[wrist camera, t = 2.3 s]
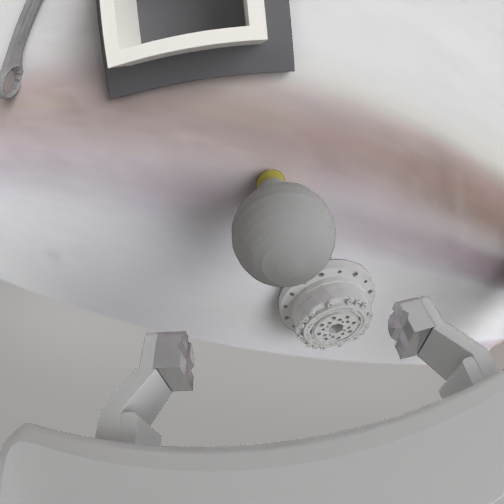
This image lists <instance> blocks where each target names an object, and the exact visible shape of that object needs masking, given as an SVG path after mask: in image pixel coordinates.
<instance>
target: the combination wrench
mask: <svg viewBox="0 0 504 504" xmlns="http://www.w3.org/2000/svg"><path fill="white" fill-rule="evenodd" d="M41 2H42V0H27V1H26V3H25V5H24V8H23V10H22V12H21V15H20V17H19V20H18V22H17V25H16V27H15V30H14V33H13V36H12V39H11V42H10V45H9V48H8V51H7V54H6V57H5V60H4V63H3V66H2V69H1V71H0V98H3V99H9V98H11V97H13V96H14V95H15V94H16V93H17V92H18V90H19V88H20V86H21V82H20V80H21V78H22V74H23V69H22V67H21V61H22V52H23V48H24V45H25V42H26V39H27V37H28V34H29V31H30V28H31V26H32V23H33V21H34V18H35V16H36V13H37V11H38V9H39V6H40V4H41ZM10 70H14V72H15V82H14V83H13V85H12V87H11V89H10V90H9V92H8V93H4V90H3V85H4V80H5V78H6V76H7V74H8V73H9V72H10Z"/></svg>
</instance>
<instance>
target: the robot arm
mask: <svg viewBox="0 0 504 504" xmlns="http://www.w3.org/2000/svg"><path fill="white" fill-rule="evenodd" d="M393 311H394V312H393V313H392V314H391V315H390V317H389V320H388V330H389V333H390V336H391V338H393V339H394V340H395V341H396V345H395V347H396V349H397V352H398V354H399V356H400V359H402V358H406V357H410V356H414V355H417V356H419V357H420V358H421V359H422V360H423V361H424V362H425V363H427V364H428V365H429V366H430V367H431V368H432V369H433V370H435V371H436V372H437V373H438V374H439V375H440V376H441V377H442V378H444V379H445V380H446V382H445V383H444V384H443V385H442V386H441V388H440V390H439V393H440V395H441V398H442V399H441V400H438V401H436V402H433V403H431V404H428V405H426V406H423V407H421V408H418V409H415V410H412V411H409V412H406V413H404V414H400V415H397V416H394V417H391V418H388V419H384V420H381V421H378V422H374V423H371V424H367V425H363V426H360V427H355V428H351V429H347V430H343V431H339V432H334V433H329V434H324V435H319V436H314V437H308V438H301V439H296V440H288V441H281V442H272V443H263V444H253V445H239V446H216V447H180V446H179V447H178V446H161V435H160V434H159V433H158V432H156V431H155V430H154V429H153V428H152V427H151V424H152V423H153V421H154V420H155V418H156V417H157V415H158V414H159V412H160V411H161V409H162V407H163V406H164V405H165V403H166V401H167V400H168V399H169V397H170V395H171V394H172V391H192V390H193V377H194V376H193V374H192V372H191V369H192V368H193V366H194V352H193V348H192V345H191V343H189V342H188V336H187V333H186V331H183V332H154V333H147V334H146V336H145V339H144V344H143V349H142V355H141V360H140V365H139V368H138V369H135V370H134V371H133V372H132V373H131V374H130V375H129V377H128V378H127V379H126V380H125V381H124V382H123V383H122V384H121V386H120V387H119V388H118V389H117V390H116V391H115V392H114V393H113V395H112V396H111V397H110V398H109V399H108V400H107V401H106V402H105V404H104V405H103V406H102V407H101V408H100V414H99V419H98V424H97V430H96V436H95V438H92V437H86V436H81V435H76V434H71V433H67V432H63V431H58V430H54V429H50V428H47V427H43V426H39V425H36V424H32V423H24V424H23V425H21V426H20V427H19V428H18V429H17V430H15V431H14V432H13V433H12V434H11V435H10V436H9V437H8V438H7V439H6V441H5V442H4V443H3V445H2V448H1V450H0V504H504V369H502V370H501V371H498V369H497V367H496V365H495V363H494V361H493V359H492V357H491V355H490V354H489V352H488V350H487V348H485V347H484V346H482V345H481V344H479V343H478V342H476V341H475V340H473V339H472V338H470V337H469V336H467V335H466V334H464V333H462V332H461V331H459V330H458V329H456V328H455V327H453V326H452V325H450V324H448V323H447V324H445V322H444V321H443V319H442V317H441V316H440V314H439V312H438V311H437V309H436V307H435V306H434V304H433V302H432V301H431V299H430V298H429V297H428V296H422V297H418V298H412V299H408V300H404V301H399V302H396V303H395V304H394V306H393Z"/></svg>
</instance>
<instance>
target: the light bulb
mask: <svg viewBox="0 0 504 504" xmlns="http://www.w3.org/2000/svg"><path fill="white" fill-rule="evenodd" d="M256 187H257V189H256V190H255V191H253V192H252V193H250V194H249V195H248V196H247V197H246V198H245V199H244V200H243V202H242V203H241V205H240V206H239V208H238V210H237V213H236V215H235V217H234V220H233V224H232V245H233V249H234V252H235V255H236V257H237V258H238V260H239V262H240V264H241V265H242V267H243V268H244V269H245V270H246V271H247V272H248V273H249V274H250V275H251V276H252V277H254V278H255V279H256V280H258V281H260V282H262V283H265V284H268V285H271V286H275V287H293V286H298V285H301V284H303V283H306V282H308V281H310V280H311V279H313V278H314V277H315V276H317V275H318V274H319V273H320V272H321V271H322V270H323V269H324V268H325V266H326V265H327V264H328V262H329V260H330V258H331V256H332V253H333V250H334V246H335V236H336V229H335V223H334V220H333V217H332V215H331V213H330V211H329V209H328V207H327V205H326V204H325V202H324V201H323V200H322V199H321V198H320V197H319V196H318V195H317V194H315V193H314V192H313V191H311V190H310V189H308V188H307V187H305V186H302V185H300V184H297V183H292V182H285V178H284V176H283V174H282V173H281V172H279V171H277V170H267V171H265V172H263V173H262V174H261V175H260V176H259V177H258V179H257V183H256Z"/></svg>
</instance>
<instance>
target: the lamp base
mask: <svg viewBox="0 0 504 504" xmlns="http://www.w3.org/2000/svg"><path fill="white" fill-rule="evenodd" d="M97 12H98V22H99V31H100V39H101V46H102V53H103V60H104V66H105V72H106V78H107V84H108V89H109V95H110V100H111V99H115V98H118V97H122V96H125V95H129V94H133V93H137V92H141V91H145V90H149V89H153V88H158V87H162V86H167V85H172V84H177V83H183V82H188V81H194V80H200V79H207V78H214V77H222V76H231V75H240V74H252V73H266V72H290V71H295V69H294V55H293V41H292V29H291V18H290V8H289V0H97Z"/></svg>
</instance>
